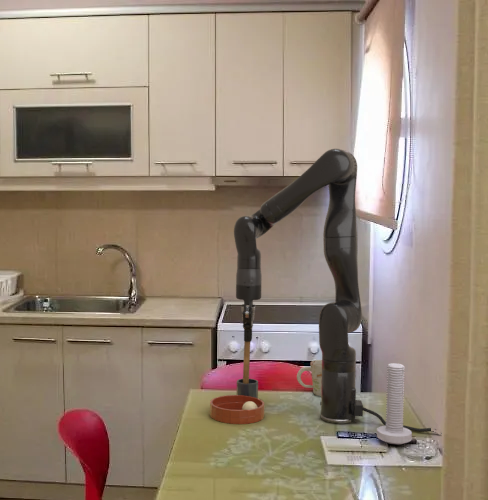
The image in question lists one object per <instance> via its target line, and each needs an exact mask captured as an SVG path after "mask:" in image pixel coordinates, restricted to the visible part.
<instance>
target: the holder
mask: <svg viewBox="0 0 488 500" xmlns="http://www.w3.org/2000/svg"><path fill="white" fill-rule="evenodd" d="M236 395H245V396H251V397H255V398H258V399H259V380H258V379H255V378H249V384H245V383H243V378H238V379H236Z"/></svg>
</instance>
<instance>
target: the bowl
mask: <svg viewBox="0 0 488 500" xmlns="http://www.w3.org/2000/svg"><path fill="white" fill-rule="evenodd" d="M248 401H252V402H254V403H255V404H256V405H257V407H258V408H255V409H249V410H242V406H243V405H244V403H246V402H248ZM209 416H210V418H211V419H213V420H215V421H218V422H220V423H225V424H230V425H246V424H254V423H257V422H261V421H262V420H264V419H265V401H264V400H263V399H260V398H259V397H258V398H255V397H251V396H245V395H237V394H226V395H220V396H216V397H213V398H212V399H210V401H209Z"/></svg>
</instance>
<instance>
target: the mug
mask: <svg viewBox="0 0 488 500" xmlns="http://www.w3.org/2000/svg"><path fill="white" fill-rule="evenodd" d="M304 372H310V373H311V382H312V384H305V383H304V382H303V380H302V374H303V373H304ZM296 380H297V382H298V384H299V385H301V387H303V388H306V389H312V392H313V395H315V396H317V397H321V385H322V359H315V360H312V361H310V366H302V367H301V368H300V369H299V370H298V371H297V373H296Z"/></svg>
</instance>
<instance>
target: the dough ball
mask: <svg viewBox="0 0 488 500" xmlns="http://www.w3.org/2000/svg"><path fill="white" fill-rule="evenodd" d="M255 408H258V407H257V405H256V404H255V403H254V402H252V401H248V402H246V403H244V405H243V406H242V410H249V409H255Z"/></svg>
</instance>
